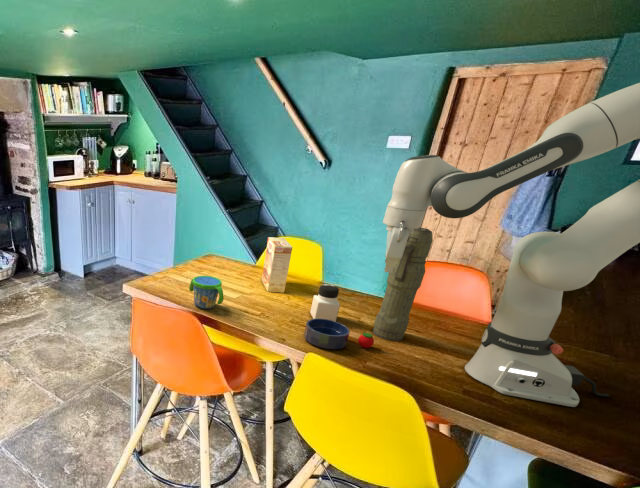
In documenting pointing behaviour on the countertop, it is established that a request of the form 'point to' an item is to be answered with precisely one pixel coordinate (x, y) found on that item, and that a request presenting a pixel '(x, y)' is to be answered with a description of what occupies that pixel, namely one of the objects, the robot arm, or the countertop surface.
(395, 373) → the countertop surface
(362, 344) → the tomato
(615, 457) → the countertop surface
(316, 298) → the medicine bottle
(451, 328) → the countertop surface
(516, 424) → the countertop surface
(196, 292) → the snack cup
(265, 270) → the coffeecake box
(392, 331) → the olive grey tall cylinder
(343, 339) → the bowl
